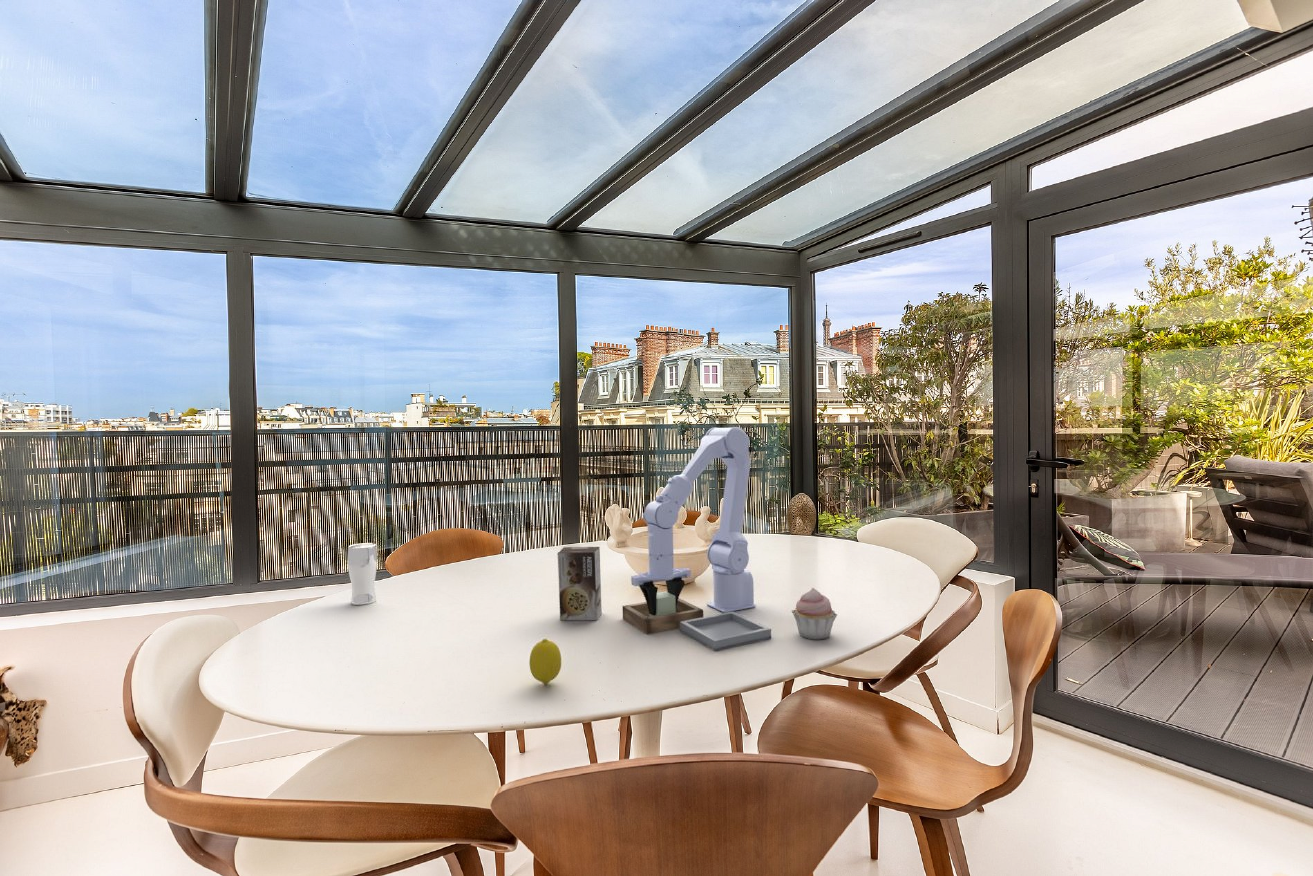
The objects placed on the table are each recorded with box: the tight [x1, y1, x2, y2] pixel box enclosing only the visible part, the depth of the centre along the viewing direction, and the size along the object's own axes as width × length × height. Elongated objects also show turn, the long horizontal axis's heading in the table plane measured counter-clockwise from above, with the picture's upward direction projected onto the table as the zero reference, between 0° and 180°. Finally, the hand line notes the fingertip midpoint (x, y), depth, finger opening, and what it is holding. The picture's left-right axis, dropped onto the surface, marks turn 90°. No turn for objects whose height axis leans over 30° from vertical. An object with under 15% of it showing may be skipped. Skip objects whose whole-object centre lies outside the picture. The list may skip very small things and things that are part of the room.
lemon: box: [528, 638, 562, 685], centre depth 108 cm, size 6×6×8 cm
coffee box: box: [557, 546, 603, 621], centre depth 146 cm, size 9×6×16 cm
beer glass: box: [347, 542, 378, 606], centre depth 162 cm, size 7×7×15 cm
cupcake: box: [791, 587, 838, 640], centre depth 130 cm, size 9×9×10 cm
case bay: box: [622, 597, 704, 635], centre depth 142 cm, size 14×12×3 cm
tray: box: [679, 611, 772, 652], centre depth 132 cm, size 14×14×2 cm
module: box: [648, 590, 677, 618], centre depth 142 cm, size 4×4×6 cm
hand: (662, 612), depth 142 cm, fingers closed on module, 4 cm apart
